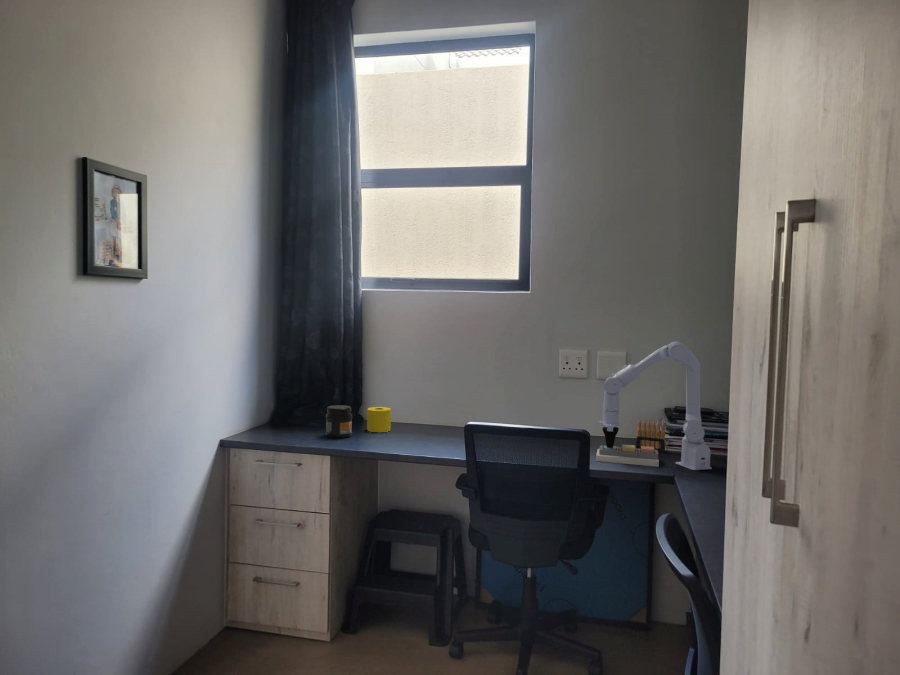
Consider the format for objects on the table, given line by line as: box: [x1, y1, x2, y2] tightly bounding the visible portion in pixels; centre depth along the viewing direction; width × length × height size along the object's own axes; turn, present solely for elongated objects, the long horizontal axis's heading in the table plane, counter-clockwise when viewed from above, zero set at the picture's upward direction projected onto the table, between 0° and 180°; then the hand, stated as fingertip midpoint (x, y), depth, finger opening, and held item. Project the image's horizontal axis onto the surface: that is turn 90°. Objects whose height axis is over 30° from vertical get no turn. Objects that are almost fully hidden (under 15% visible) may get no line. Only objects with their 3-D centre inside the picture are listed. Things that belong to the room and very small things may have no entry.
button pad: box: [595, 445, 660, 468], centre depth 220 cm, size 21×11×4 cm, turn 74°
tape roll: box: [366, 406, 392, 433], centre depth 262 cm, size 10×10×9 cm
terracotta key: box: [641, 446, 654, 454], centre depth 218 cm, size 4×4×2 cm
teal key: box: [603, 445, 617, 450], centre depth 222 cm, size 4×4×2 cm
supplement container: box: [325, 404, 353, 439], centre depth 249 cm, size 10×10×12 cm
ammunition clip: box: [635, 418, 666, 453], centre depth 237 cm, size 11×2×12 cm, turn 64°
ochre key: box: [621, 444, 636, 452], centre depth 220 cm, size 4×4×2 cm
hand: (609, 447), depth 222 cm, fingers closed, pressing on teal key
